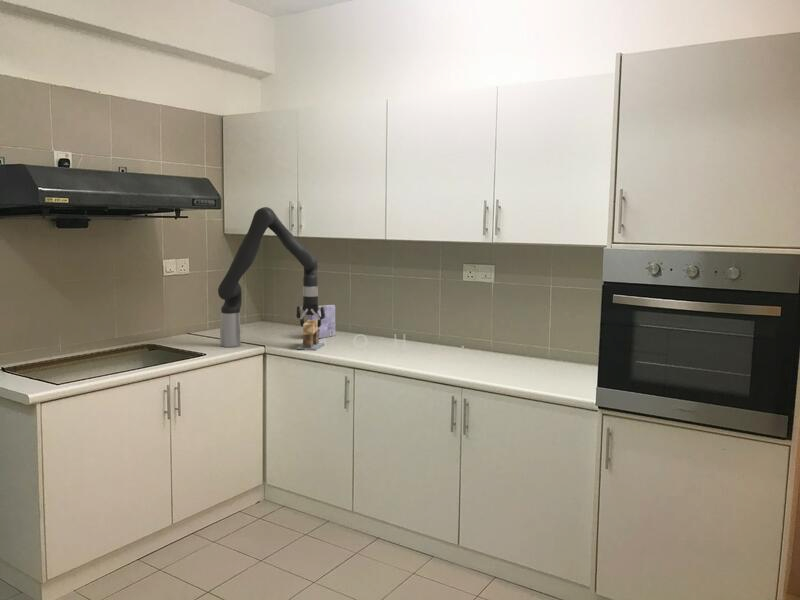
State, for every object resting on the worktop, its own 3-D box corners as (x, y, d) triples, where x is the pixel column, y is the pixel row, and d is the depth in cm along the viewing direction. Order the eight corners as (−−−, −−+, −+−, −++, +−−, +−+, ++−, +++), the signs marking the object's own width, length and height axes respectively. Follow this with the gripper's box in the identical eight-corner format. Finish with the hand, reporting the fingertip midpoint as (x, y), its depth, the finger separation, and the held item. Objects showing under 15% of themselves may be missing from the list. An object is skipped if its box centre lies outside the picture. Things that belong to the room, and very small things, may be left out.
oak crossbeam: (303, 334, 321) (303, 324, 320) (308, 329, 335) (308, 319, 335) (313, 334, 320) (313, 324, 320) (317, 329, 335) (317, 319, 335)
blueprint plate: (296, 349, 323) (296, 347, 323) (306, 344, 337) (306, 342, 337) (316, 350, 321) (316, 348, 321) (324, 345, 335) (324, 343, 335)
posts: (303, 347, 323) (302, 333, 322) (311, 342, 336) (311, 329, 335) (310, 348, 322) (310, 334, 321) (318, 343, 335) (318, 329, 334)
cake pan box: (331, 334, 366) (331, 303, 364) (337, 335, 363) (337, 304, 361) (306, 339, 351) (305, 307, 349) (312, 340, 348) (312, 307, 346)
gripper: (294, 295, 323) (294, 327, 325) (321, 296, 321) (322, 328, 323) (299, 293, 331) (299, 325, 333) (326, 294, 328) (326, 326, 330)
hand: (310, 326), depth 328 cm, fingers open, 8 cm apart
